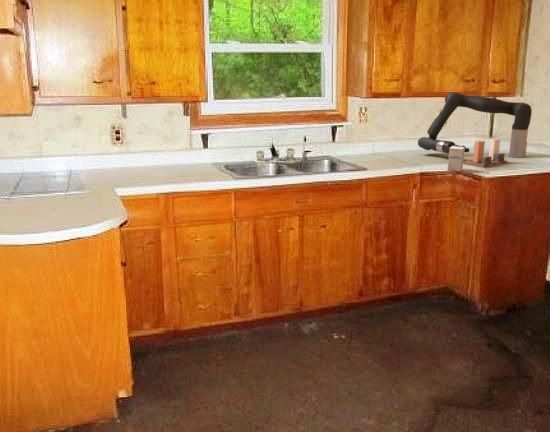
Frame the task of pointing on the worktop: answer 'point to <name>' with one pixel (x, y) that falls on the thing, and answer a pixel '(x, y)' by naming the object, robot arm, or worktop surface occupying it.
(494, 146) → the key white
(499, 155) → the switch bench
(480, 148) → the pink tall block
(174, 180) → the worktop surface
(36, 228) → the worktop surface
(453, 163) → the supplement box
